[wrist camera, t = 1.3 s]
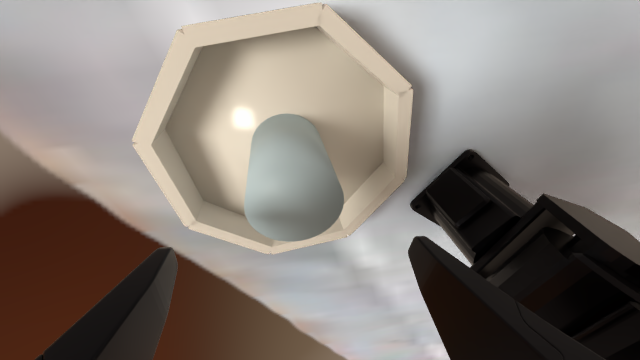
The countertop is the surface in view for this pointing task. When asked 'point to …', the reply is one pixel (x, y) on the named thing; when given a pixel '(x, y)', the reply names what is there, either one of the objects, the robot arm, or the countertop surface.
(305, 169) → the peg
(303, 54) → the bowl
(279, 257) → the countertop surface
